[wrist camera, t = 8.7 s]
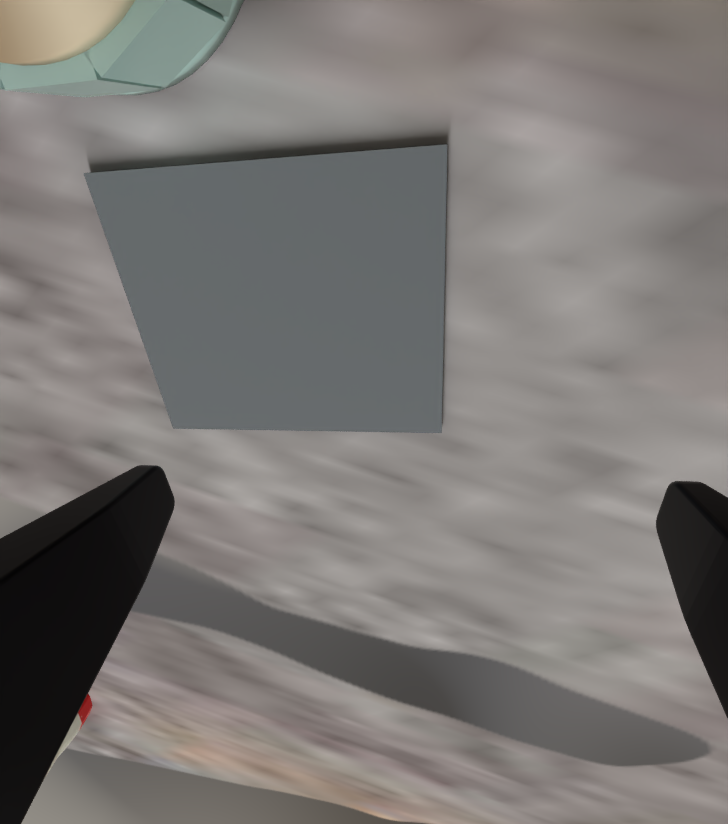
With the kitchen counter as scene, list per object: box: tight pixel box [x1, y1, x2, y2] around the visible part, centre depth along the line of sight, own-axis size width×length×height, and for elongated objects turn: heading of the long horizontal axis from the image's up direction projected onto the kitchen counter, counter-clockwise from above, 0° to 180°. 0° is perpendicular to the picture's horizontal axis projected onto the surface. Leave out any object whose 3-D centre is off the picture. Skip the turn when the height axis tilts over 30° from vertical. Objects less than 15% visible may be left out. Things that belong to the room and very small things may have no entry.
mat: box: [84, 144, 447, 433], centre depth 20 cm, size 14×12×1 cm
